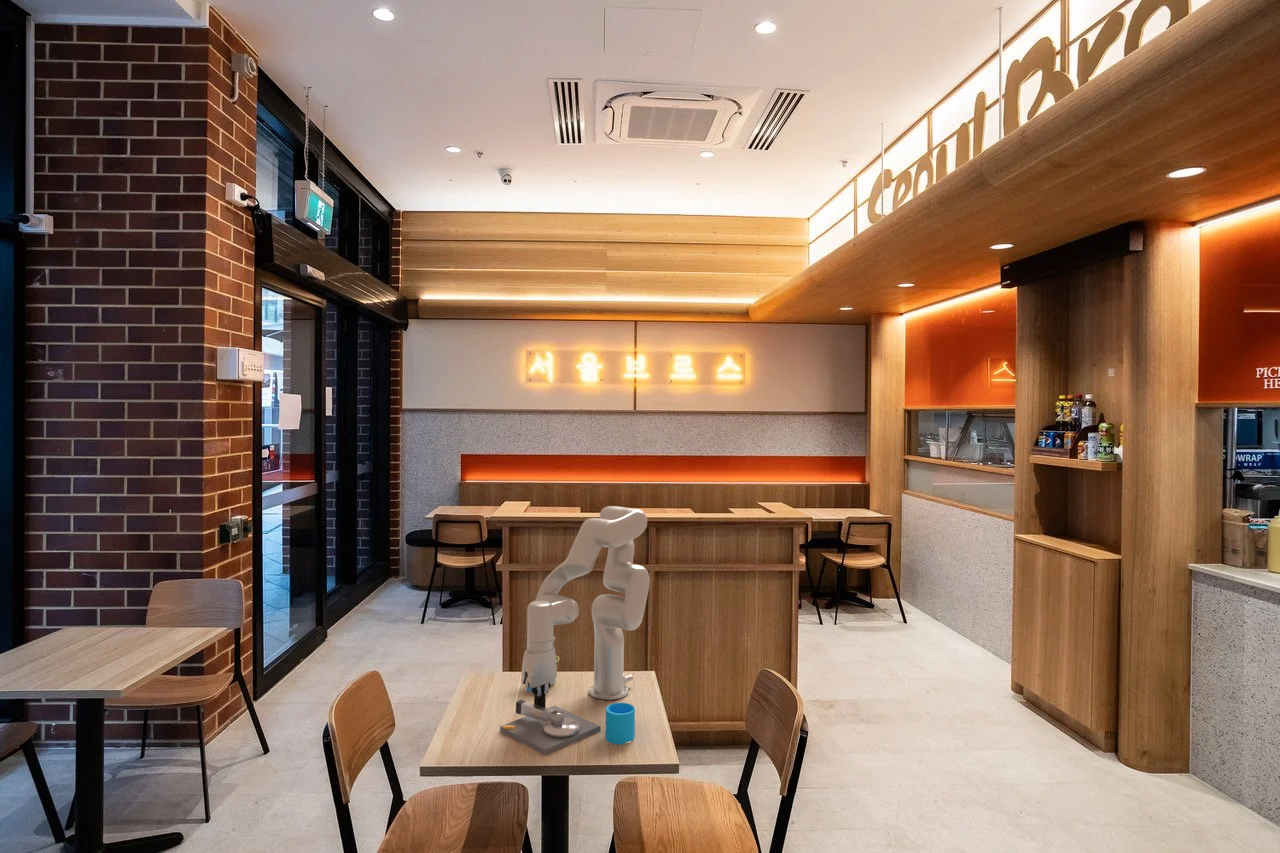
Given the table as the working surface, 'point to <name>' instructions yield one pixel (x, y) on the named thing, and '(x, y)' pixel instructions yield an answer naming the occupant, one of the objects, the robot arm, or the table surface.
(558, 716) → the lever
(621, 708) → the mug
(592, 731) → the stand base
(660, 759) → the table surface
